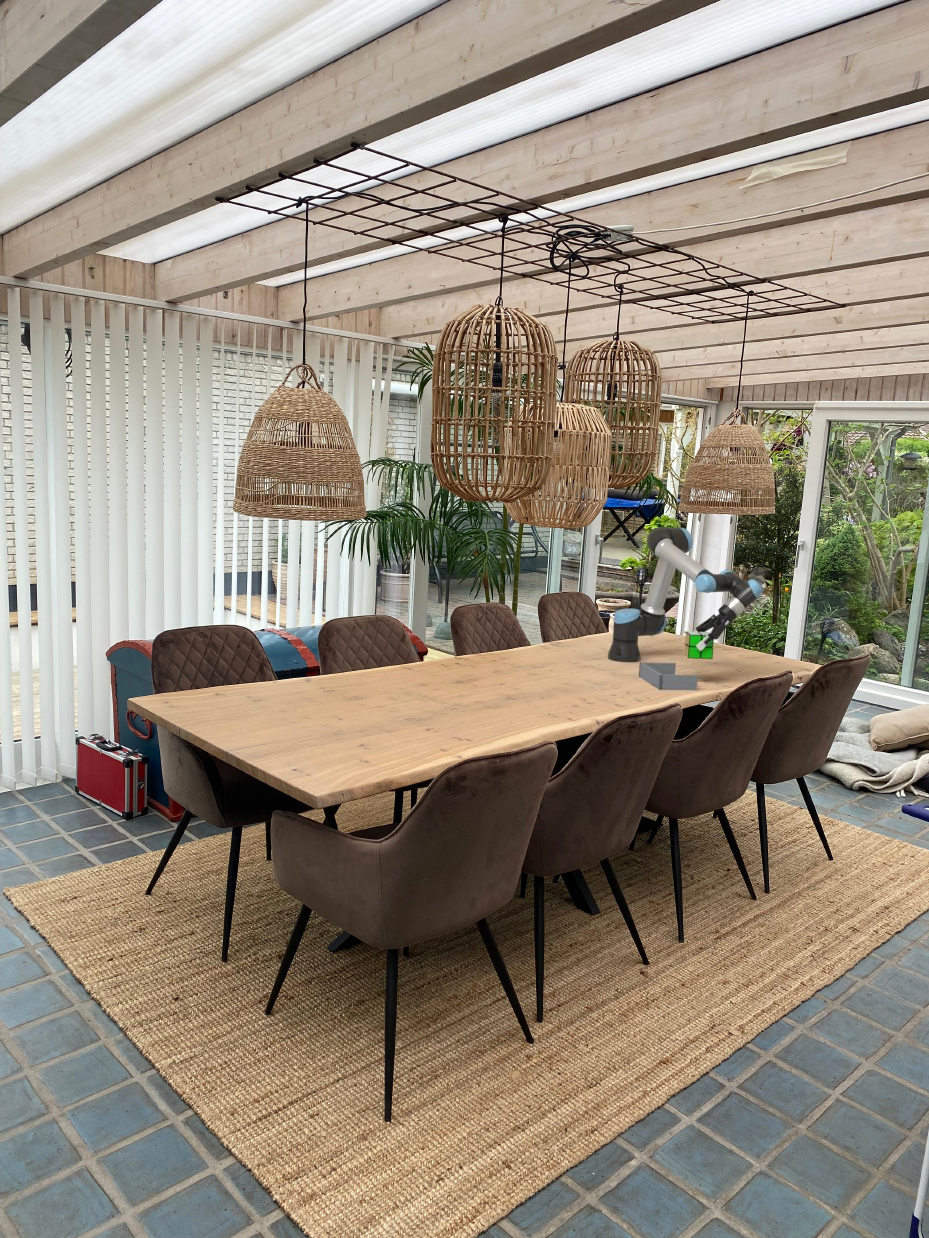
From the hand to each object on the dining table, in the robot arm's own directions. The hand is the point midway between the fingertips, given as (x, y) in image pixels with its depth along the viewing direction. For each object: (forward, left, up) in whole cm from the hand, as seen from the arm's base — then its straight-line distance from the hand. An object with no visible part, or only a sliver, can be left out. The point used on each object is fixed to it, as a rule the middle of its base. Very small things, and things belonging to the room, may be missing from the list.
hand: (692, 646), depth 372 cm
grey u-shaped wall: (+3, -11, -15) cm, 19 cm away
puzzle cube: (0, +3, -5) cm, 5 cm away
